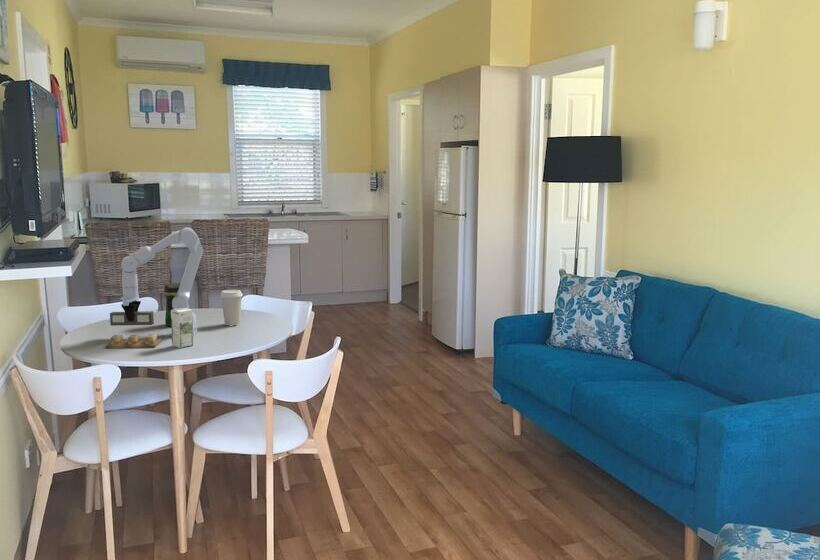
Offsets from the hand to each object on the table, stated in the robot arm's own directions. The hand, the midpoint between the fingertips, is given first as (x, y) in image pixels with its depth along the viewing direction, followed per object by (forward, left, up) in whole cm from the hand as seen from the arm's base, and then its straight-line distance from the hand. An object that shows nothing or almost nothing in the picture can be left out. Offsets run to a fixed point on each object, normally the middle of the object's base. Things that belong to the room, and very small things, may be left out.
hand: (132, 320), depth 276 cm
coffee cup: (-36, -22, -7) cm, 43 cm away
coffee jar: (-12, -23, -8) cm, 27 cm away
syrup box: (-23, +15, -8) cm, 28 cm away
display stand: (-4, +12, -7) cm, 15 cm away
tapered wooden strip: (0, 0, -2) cm, 2 cm away
